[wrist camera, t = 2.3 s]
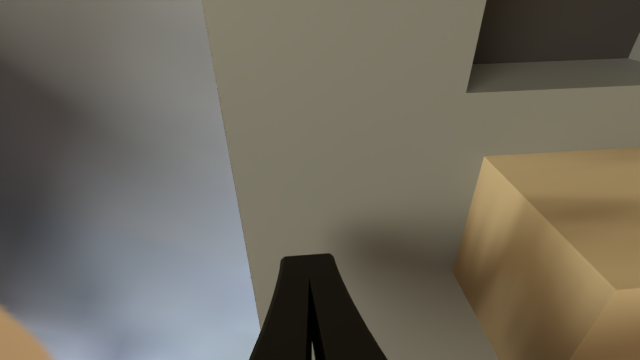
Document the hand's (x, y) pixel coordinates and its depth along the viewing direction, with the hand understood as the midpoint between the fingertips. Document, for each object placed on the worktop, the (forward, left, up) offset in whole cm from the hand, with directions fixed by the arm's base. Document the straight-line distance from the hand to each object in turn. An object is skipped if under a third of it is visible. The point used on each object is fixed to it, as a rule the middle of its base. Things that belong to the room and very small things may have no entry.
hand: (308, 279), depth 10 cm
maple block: (0, -8, -2) cm, 8 cm away
